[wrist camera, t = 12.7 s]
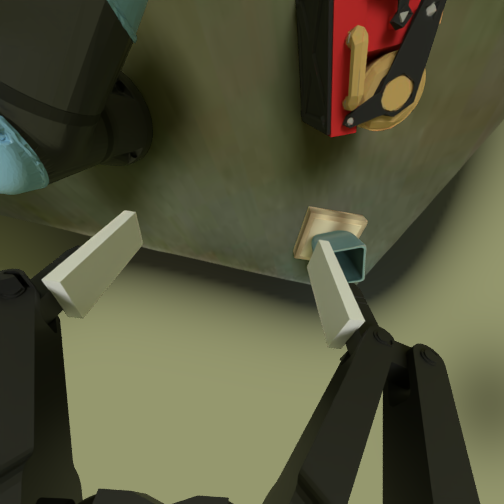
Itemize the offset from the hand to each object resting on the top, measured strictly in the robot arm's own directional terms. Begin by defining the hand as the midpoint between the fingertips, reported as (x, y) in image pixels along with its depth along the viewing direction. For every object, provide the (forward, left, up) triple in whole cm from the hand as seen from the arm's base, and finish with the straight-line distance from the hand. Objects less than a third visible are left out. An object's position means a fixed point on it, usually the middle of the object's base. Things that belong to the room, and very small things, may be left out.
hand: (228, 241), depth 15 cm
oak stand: (+20, -14, -28) cm, 37 cm away
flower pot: (+19, -14, -25) cm, 35 cm away
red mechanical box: (+10, +15, -29) cm, 34 cm away
